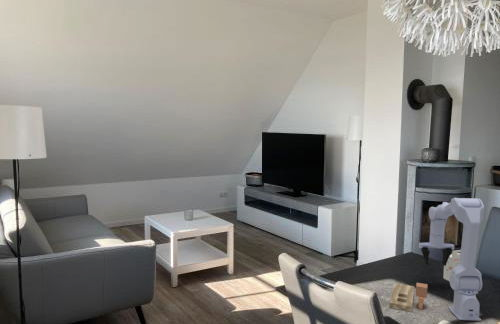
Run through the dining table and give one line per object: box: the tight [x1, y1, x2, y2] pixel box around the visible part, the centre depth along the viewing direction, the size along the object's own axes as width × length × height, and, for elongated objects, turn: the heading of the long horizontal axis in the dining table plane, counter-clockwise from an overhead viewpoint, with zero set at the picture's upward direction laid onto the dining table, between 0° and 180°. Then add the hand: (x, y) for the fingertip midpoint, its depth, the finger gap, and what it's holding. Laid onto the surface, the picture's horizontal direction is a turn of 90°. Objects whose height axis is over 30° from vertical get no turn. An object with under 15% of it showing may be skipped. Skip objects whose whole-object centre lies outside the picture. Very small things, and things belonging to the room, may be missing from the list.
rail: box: [389, 282, 416, 312], centre depth 167 cm, size 8×22×2 cm, turn 156°
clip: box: [415, 282, 429, 310], centre depth 161 cm, size 4×7×8 cm, turn 156°
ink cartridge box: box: [442, 249, 461, 282], centre depth 189 cm, size 9×5×15 cm, turn 105°
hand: (435, 264), depth 181 cm, fingers open, 7 cm apart
